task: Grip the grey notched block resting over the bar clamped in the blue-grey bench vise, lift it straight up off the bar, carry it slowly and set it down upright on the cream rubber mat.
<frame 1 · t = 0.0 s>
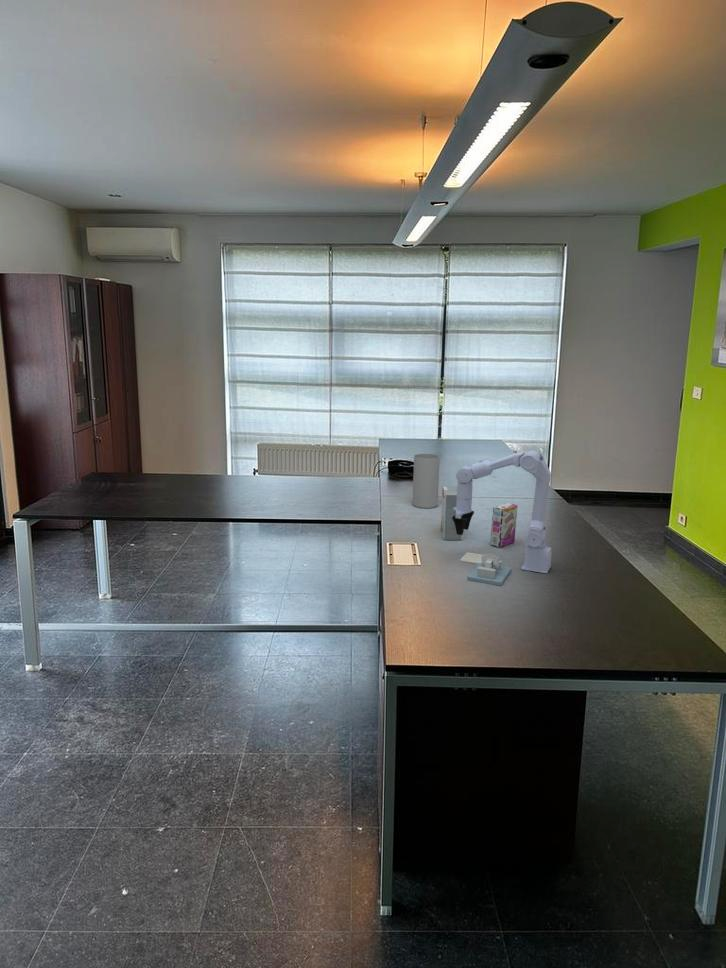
hand: (462, 531, 261), 10 cm above the table, tool pointing down, fingers open, 7 cm apart
candy bar box: (502, 544, 279), on the table
bench vise: (489, 575, 244), on the table
grey notched block: (490, 565, 243), point 4 cm above the table, touching bench vise
cylinder vase: (424, 505, 337), on the table
cream mat: (476, 559, 261), on the table
hard drive box: (450, 535, 290), on the table
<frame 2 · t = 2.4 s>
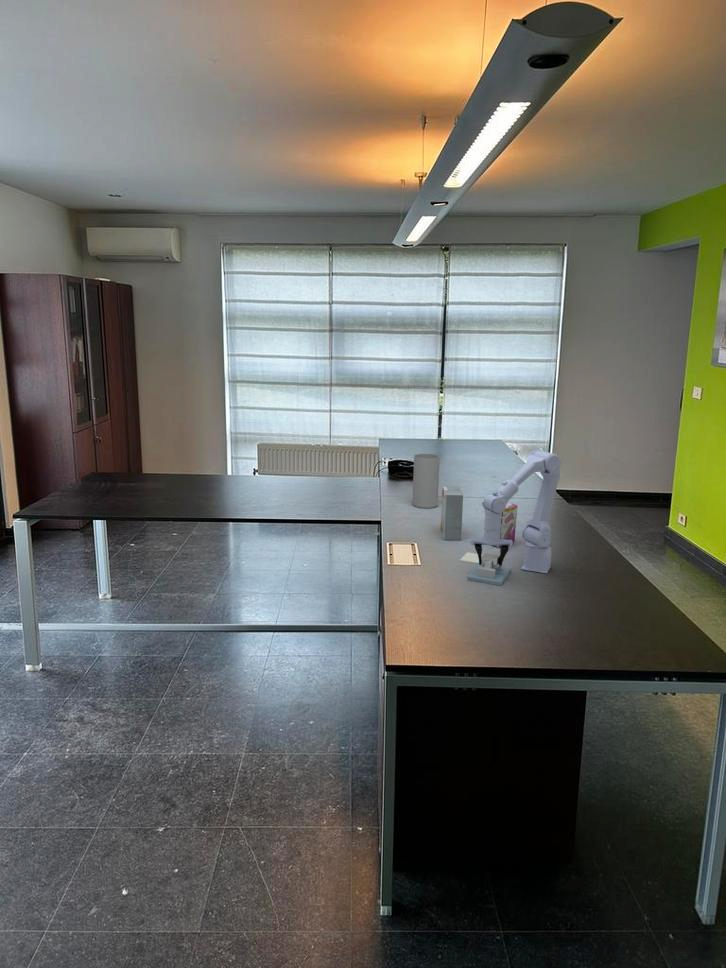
hand: (490, 564, 243), 4 cm above the table, tool pointing down, fingers closed on grey notched block, 7 cm apart
grey notched block: (490, 565, 243), point 4 cm above the table, touching bench vise, gripper
everything else where it was.
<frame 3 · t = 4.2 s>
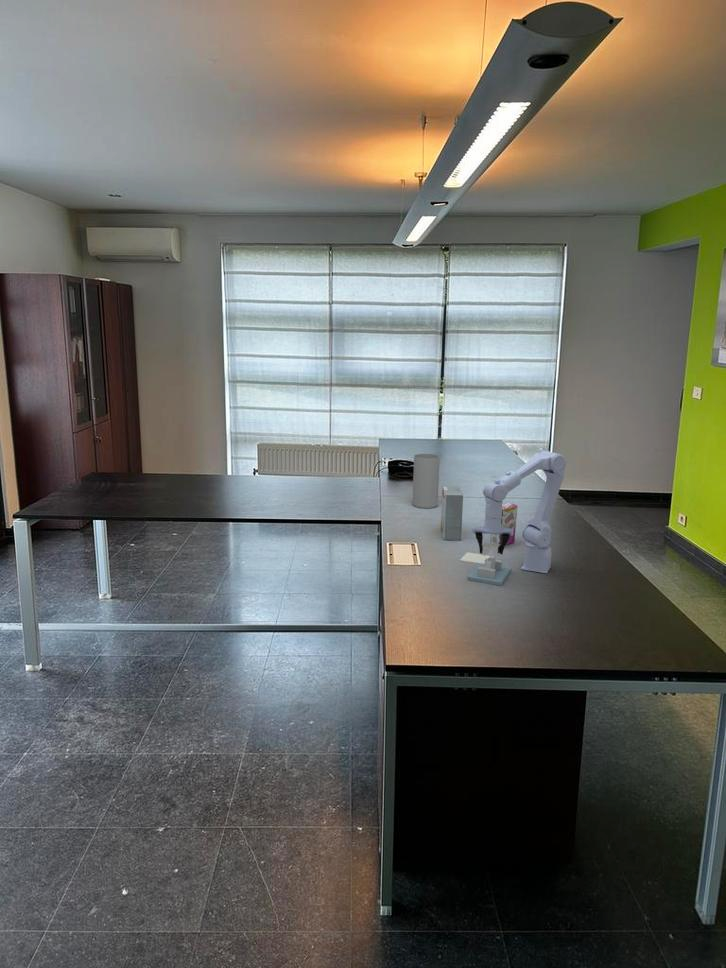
hand: (491, 553, 242), 8 cm above the table, tool pointing down, fingers closed on grey notched block, 7 cm apart
grey notched block: (490, 554, 242), point 8 cm above the table, touching gripper
everything else where it was.
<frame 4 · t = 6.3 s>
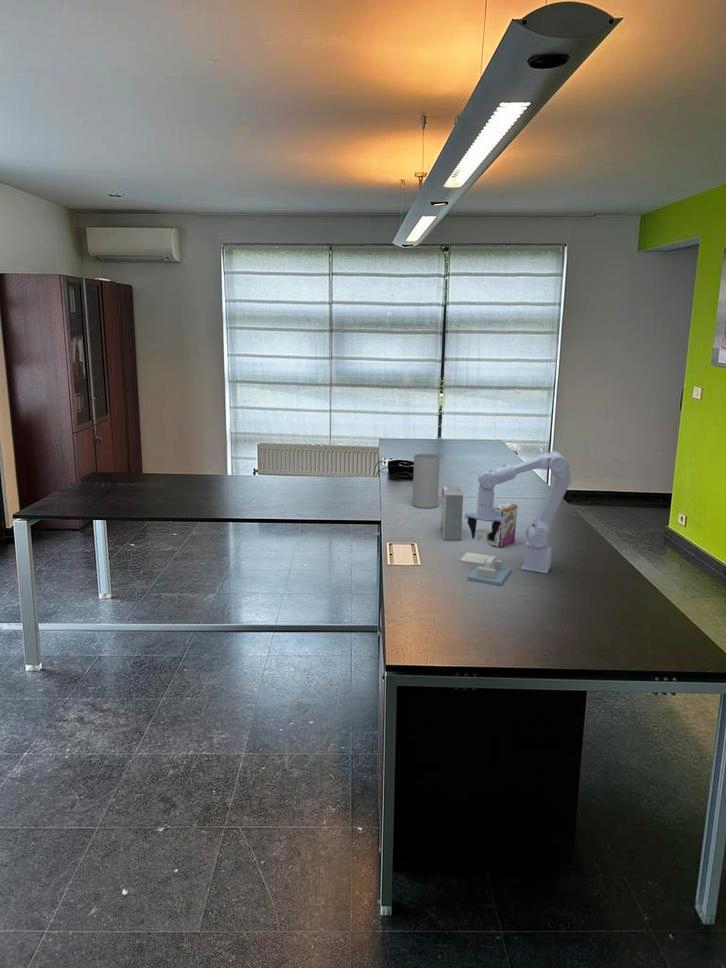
hand: (483, 539, 251), 10 cm above the table, tool pointing down, fingers closed on grey notched block, 7 cm apart
grey notched block: (483, 540, 251), point 10 cm above the table, touching gripper
everything else where it was.
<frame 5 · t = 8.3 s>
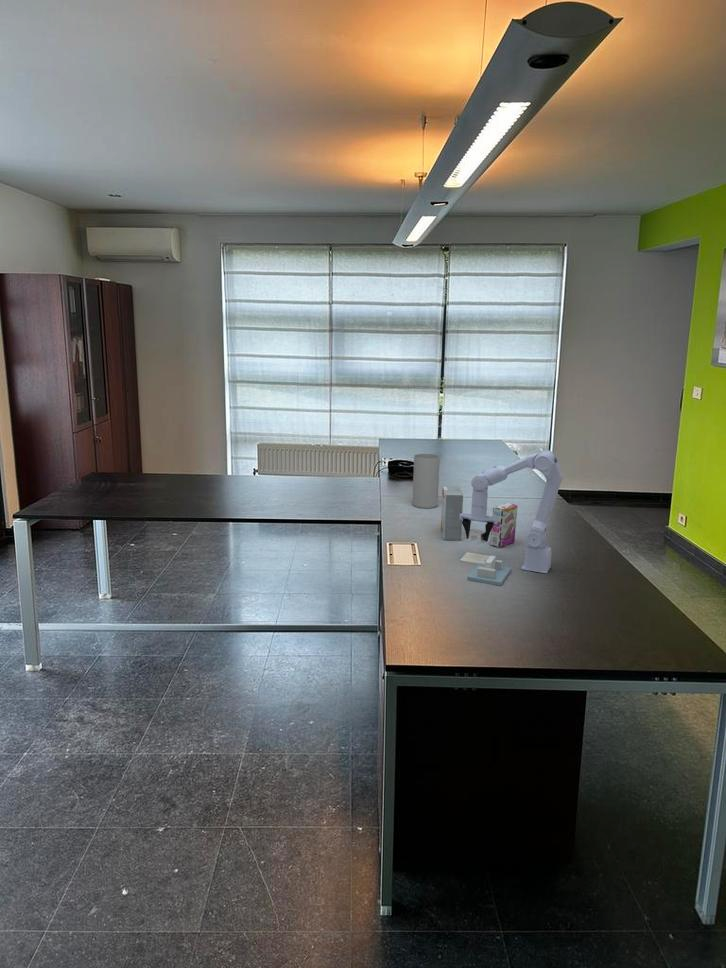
hand: (477, 539, 259), 8 cm above the table, tool pointing down, fingers closed on grey notched block, 7 cm apart
grey notched block: (477, 540, 259), point 7 cm above the table, touching gripper
everything else where it was.
when the fingers open (2 cm above the table, at t = 10.1 s): grey notched block drops 1 cm, resting on cream mat.
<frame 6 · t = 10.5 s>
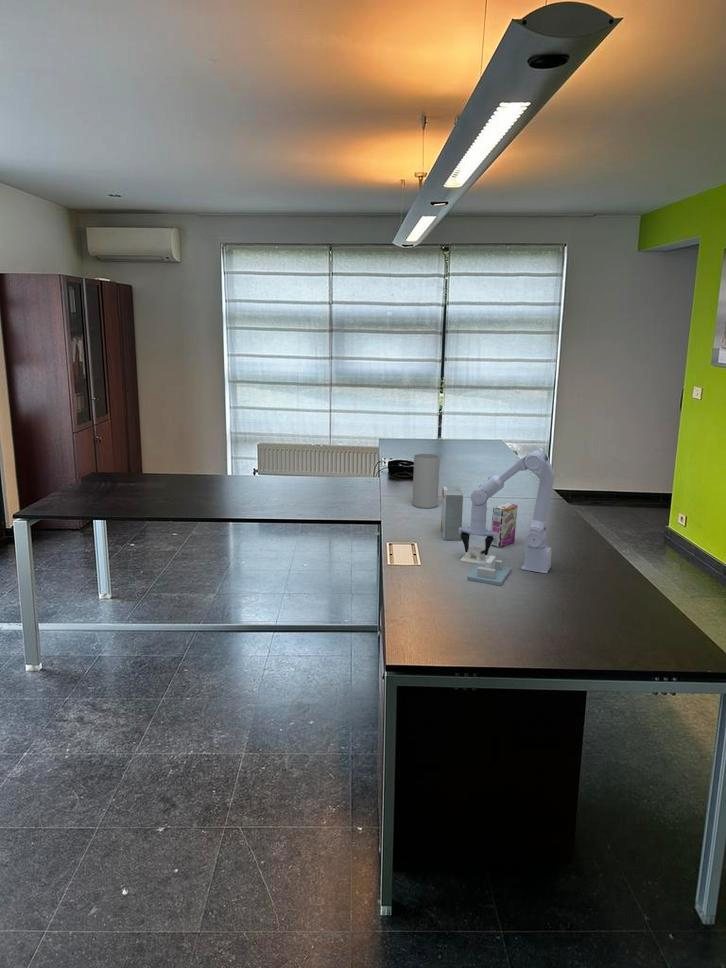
hand: (476, 553, 260), 2 cm above the table, tool pointing down, fingers open, 7 cm apart
grey notched block: (476, 558, 260), resting on cream mat
everything else where it was.
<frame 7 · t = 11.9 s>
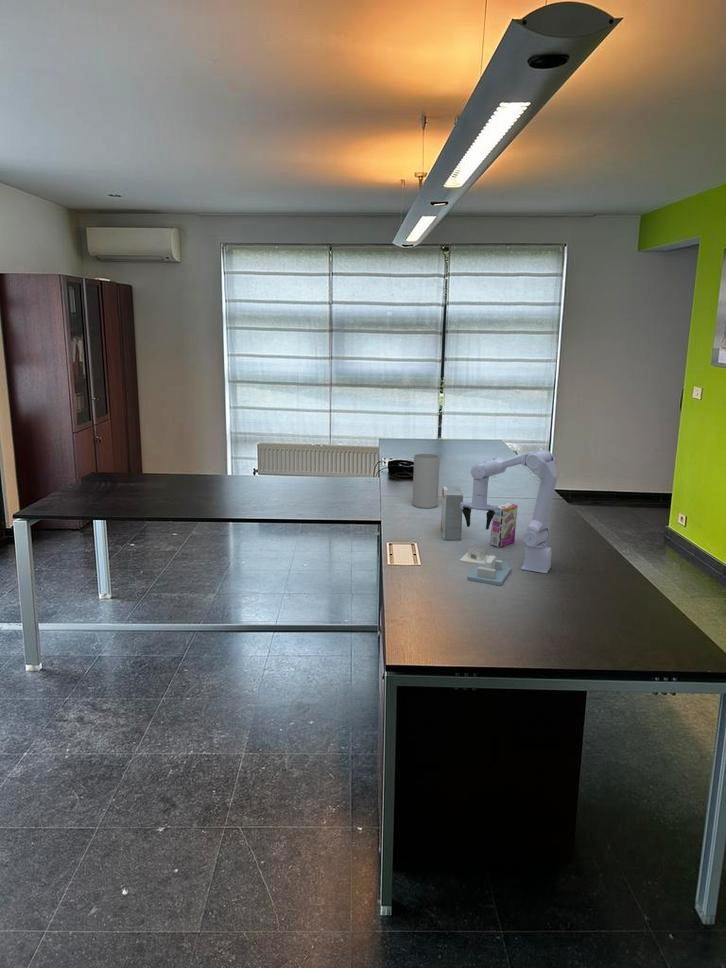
hand: (477, 527, 266), 10 cm above the table, tool pointing down, fingers open, 7 cm apart
nothing on the table moved.
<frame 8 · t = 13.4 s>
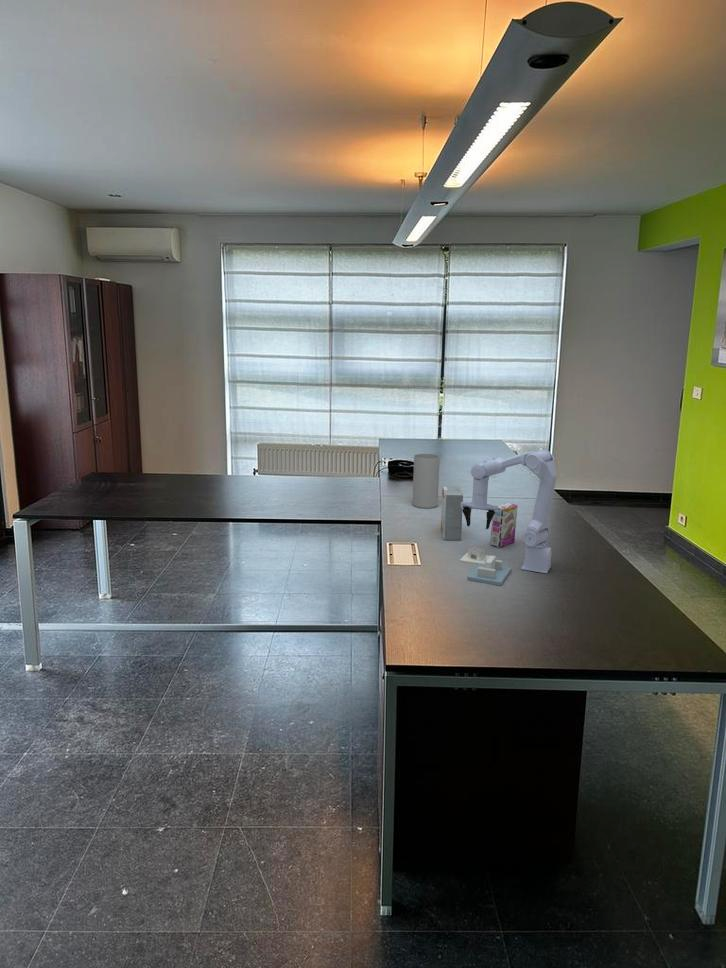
hand: (478, 527, 266), 10 cm above the table, tool pointing down, fingers open, 7 cm apart
nothing on the table moved.
at the end: grey notched block 0.1 cm from the cream mat (horizontally); grey notched block tilted 0°; the gripper is holding nothing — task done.
